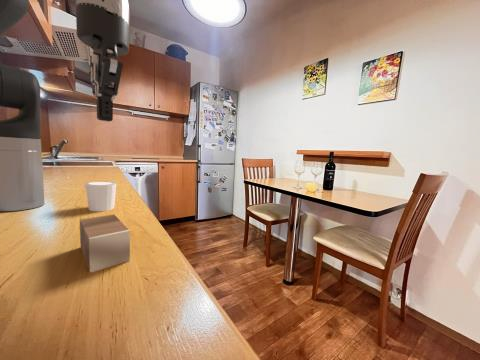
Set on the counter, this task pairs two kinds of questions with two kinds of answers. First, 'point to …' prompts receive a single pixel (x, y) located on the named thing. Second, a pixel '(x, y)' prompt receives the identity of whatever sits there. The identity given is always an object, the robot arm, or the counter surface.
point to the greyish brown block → (104, 242)
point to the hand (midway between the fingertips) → (104, 120)
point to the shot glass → (100, 195)
